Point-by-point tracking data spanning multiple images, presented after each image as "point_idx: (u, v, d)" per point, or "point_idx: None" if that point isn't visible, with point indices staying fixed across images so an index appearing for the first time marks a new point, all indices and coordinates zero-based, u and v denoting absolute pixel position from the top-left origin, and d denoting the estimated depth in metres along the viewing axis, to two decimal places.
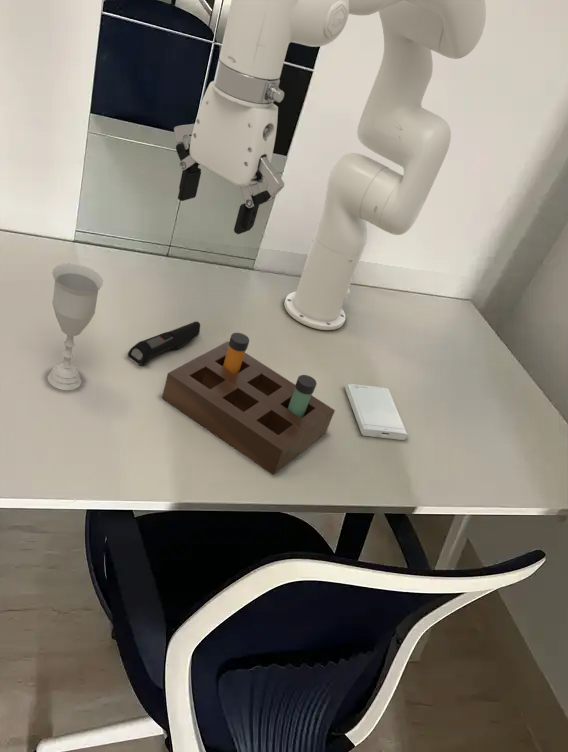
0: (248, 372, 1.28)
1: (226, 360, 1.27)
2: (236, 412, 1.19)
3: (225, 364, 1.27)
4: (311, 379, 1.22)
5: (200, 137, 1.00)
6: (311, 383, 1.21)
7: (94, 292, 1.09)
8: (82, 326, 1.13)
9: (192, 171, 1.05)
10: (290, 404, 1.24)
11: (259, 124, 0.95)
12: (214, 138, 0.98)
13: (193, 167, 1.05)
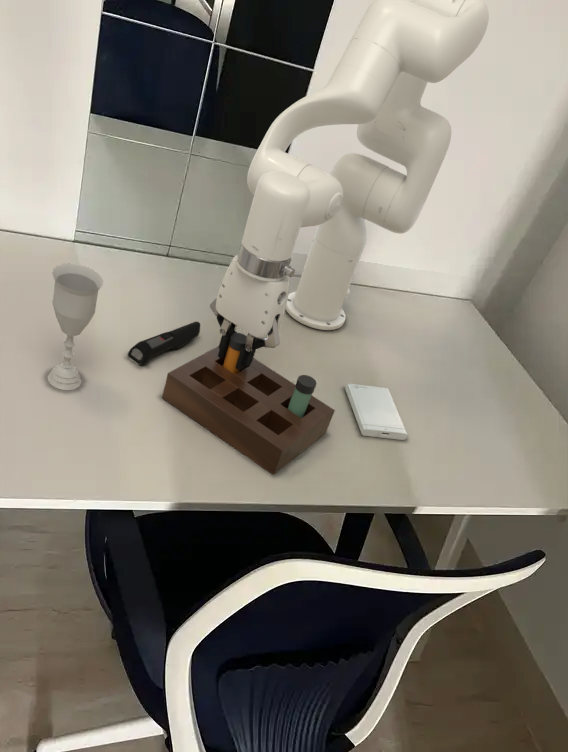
0: (248, 372, 1.28)
1: (226, 360, 1.27)
2: (236, 412, 1.19)
3: (225, 364, 1.27)
4: (311, 379, 1.22)
5: (225, 298, 1.20)
6: (311, 383, 1.21)
7: (94, 292, 1.09)
8: (82, 326, 1.13)
9: (230, 335, 1.26)
10: (290, 404, 1.24)
11: (274, 294, 1.16)
12: (237, 300, 1.19)
13: (231, 332, 1.25)
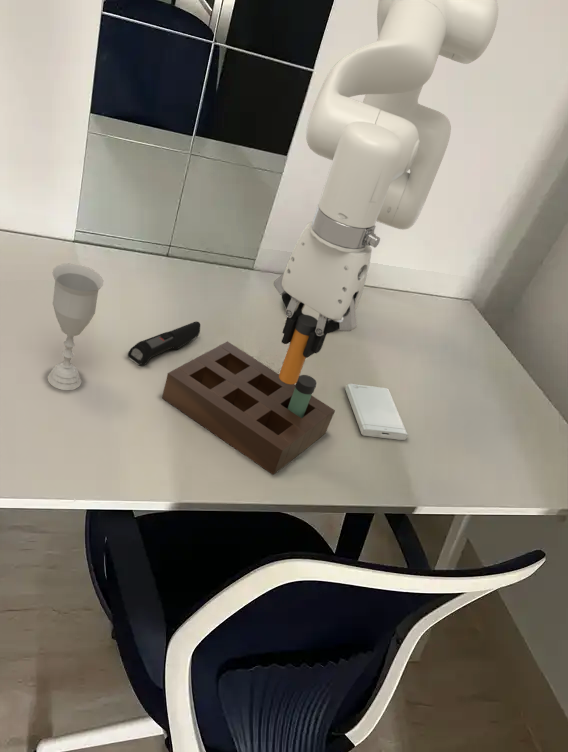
0: (248, 372, 1.28)
1: (291, 346, 1.10)
2: (236, 412, 1.19)
3: (290, 351, 1.11)
4: (311, 379, 1.22)
5: (294, 273, 1.04)
6: (311, 383, 1.21)
7: (94, 292, 1.10)
8: (82, 326, 1.13)
9: (297, 318, 1.09)
10: (290, 404, 1.24)
11: (355, 267, 0.99)
12: (309, 276, 1.03)
13: (298, 314, 1.09)
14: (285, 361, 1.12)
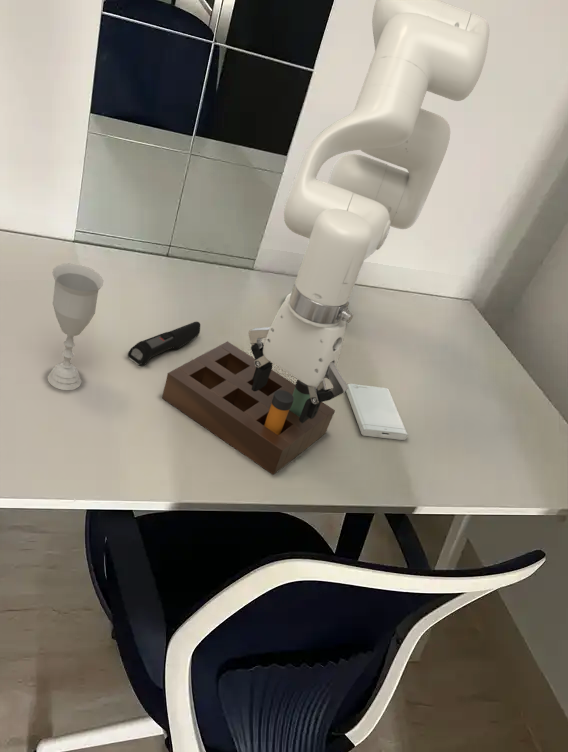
0: (248, 372, 1.28)
1: (268, 419, 1.19)
2: (236, 412, 1.19)
3: (267, 423, 1.19)
4: None
5: (274, 343, 1.11)
6: None
7: (94, 292, 1.10)
8: (82, 326, 1.13)
9: (265, 367, 1.16)
10: None
11: (330, 341, 1.06)
12: (287, 346, 1.09)
13: (266, 364, 1.16)
14: None
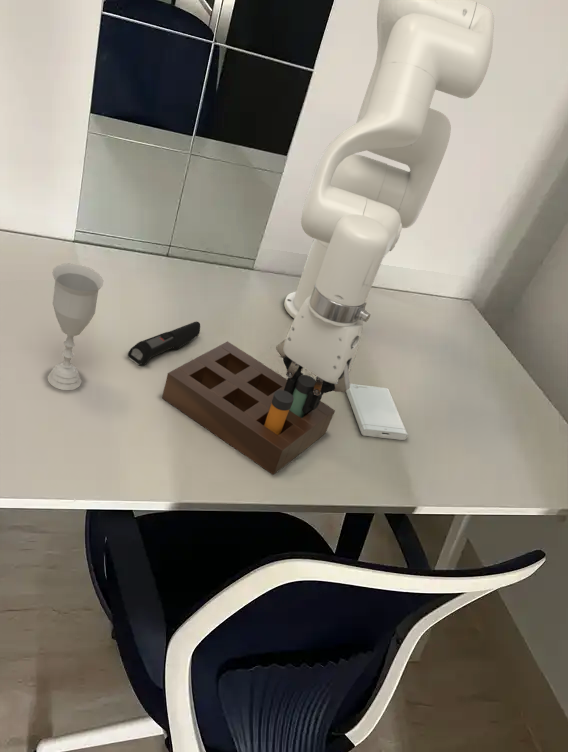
0: (248, 372, 1.28)
1: (268, 419, 1.19)
2: (236, 412, 1.19)
3: (267, 423, 1.19)
4: (311, 379, 1.22)
5: (294, 341, 1.17)
6: (311, 383, 1.21)
7: (94, 292, 1.10)
8: (82, 326, 1.13)
9: (297, 378, 1.22)
10: None
11: (348, 339, 1.12)
12: (307, 344, 1.15)
13: (298, 375, 1.22)
14: None
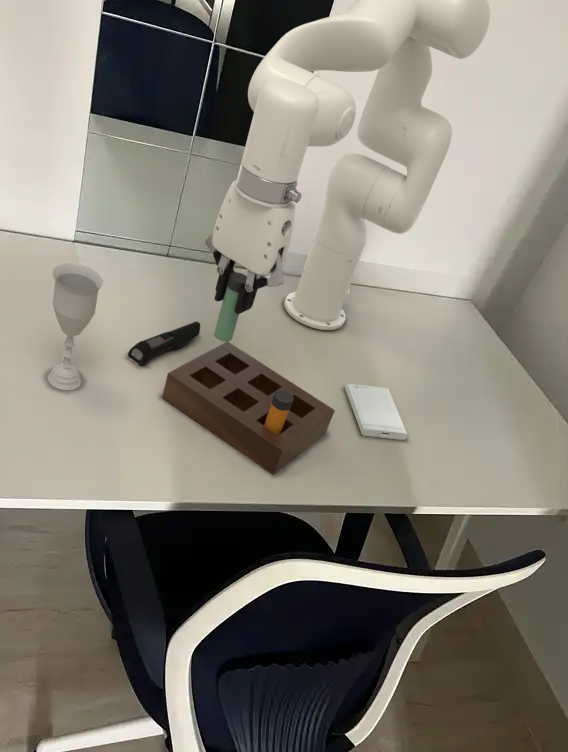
0: (248, 372, 1.28)
1: (268, 419, 1.19)
2: (236, 412, 1.19)
3: (267, 423, 1.19)
4: (244, 276, 1.13)
5: (222, 230, 1.07)
6: (243, 280, 1.12)
7: (94, 292, 1.10)
8: (82, 326, 1.13)
9: (228, 275, 1.13)
10: (222, 305, 1.14)
11: (278, 222, 1.03)
12: (236, 232, 1.06)
13: (229, 272, 1.12)
14: None
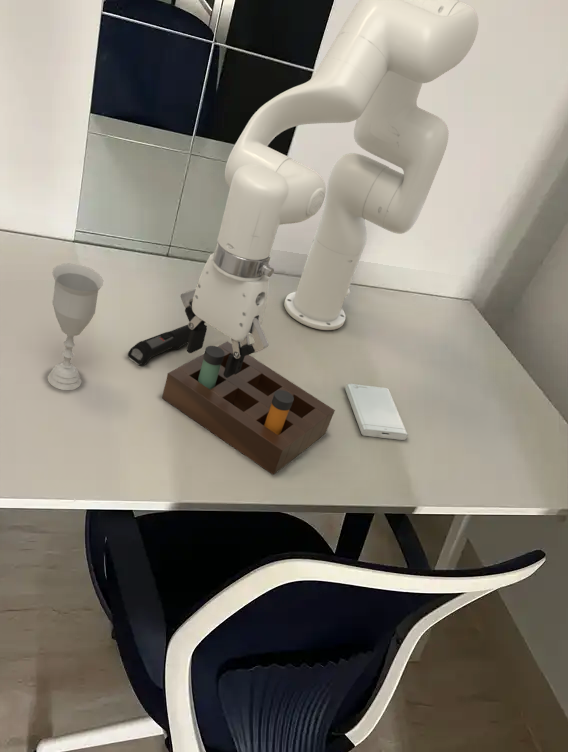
0: (248, 372, 1.28)
1: (268, 419, 1.19)
2: (236, 412, 1.19)
3: (267, 423, 1.19)
4: (219, 350, 1.21)
5: (201, 299, 1.14)
6: (219, 354, 1.20)
7: (94, 292, 1.10)
8: (82, 326, 1.13)
9: (199, 329, 1.20)
10: (199, 375, 1.23)
11: (252, 295, 1.10)
12: (213, 301, 1.13)
13: (200, 326, 1.20)
14: None
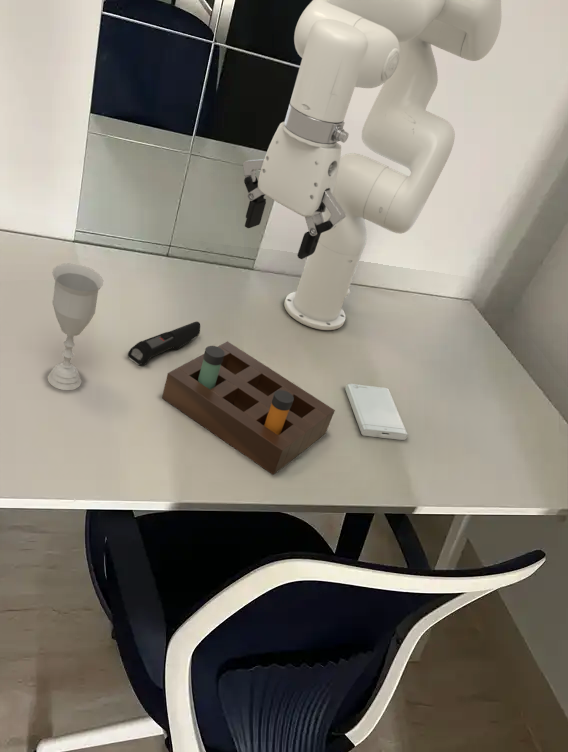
0: (248, 372, 1.28)
1: (268, 419, 1.19)
2: (236, 412, 1.19)
3: (267, 423, 1.19)
4: (219, 350, 1.21)
5: (269, 172, 1.10)
6: (219, 354, 1.20)
7: (94, 292, 1.10)
8: (82, 326, 1.13)
9: (259, 201, 1.15)
10: (199, 375, 1.23)
11: (325, 162, 1.05)
12: (282, 173, 1.09)
13: (260, 198, 1.15)
14: None
